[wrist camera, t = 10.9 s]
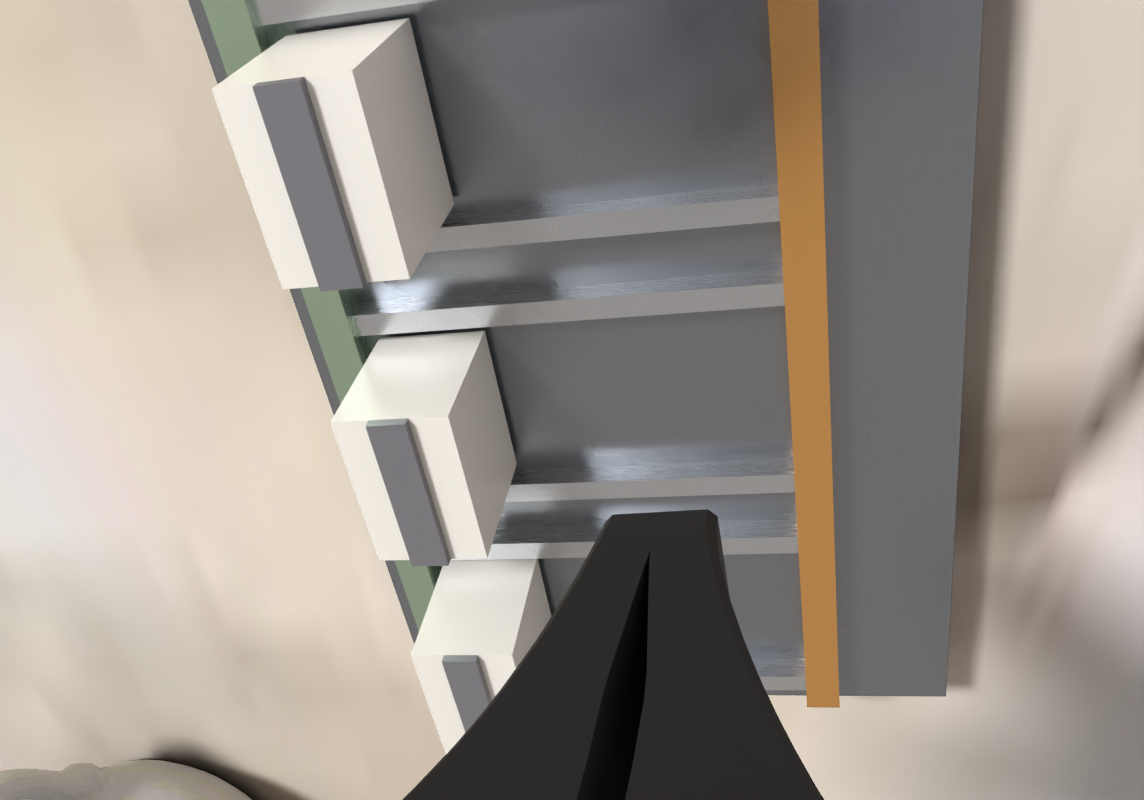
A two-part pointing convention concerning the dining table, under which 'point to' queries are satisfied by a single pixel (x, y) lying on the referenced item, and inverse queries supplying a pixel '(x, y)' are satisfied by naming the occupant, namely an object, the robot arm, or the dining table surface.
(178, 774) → the teacup
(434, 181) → the breaker
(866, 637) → the panel
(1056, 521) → the dining table surface
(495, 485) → the breaker
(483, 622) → the breaker
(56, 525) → the dining table surface
